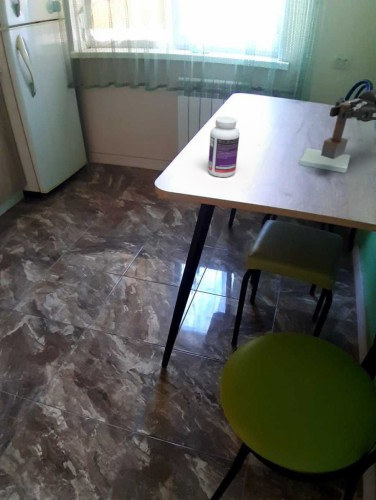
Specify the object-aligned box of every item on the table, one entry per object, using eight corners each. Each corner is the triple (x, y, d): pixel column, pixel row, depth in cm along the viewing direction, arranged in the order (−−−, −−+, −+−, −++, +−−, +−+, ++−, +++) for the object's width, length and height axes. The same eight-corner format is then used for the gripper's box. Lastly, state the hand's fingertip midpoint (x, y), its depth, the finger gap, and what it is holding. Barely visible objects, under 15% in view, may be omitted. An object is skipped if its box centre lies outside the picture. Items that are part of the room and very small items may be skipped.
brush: (331, 150, 119) (344, 100, 110) (343, 154, 117) (358, 103, 108) (320, 155, 116) (333, 104, 107) (333, 159, 114) (347, 107, 105)
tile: (349, 159, 132) (350, 155, 131) (345, 173, 124) (347, 168, 123) (305, 152, 135) (306, 147, 134) (299, 165, 127) (300, 160, 126)
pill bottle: (240, 173, 121) (247, 119, 111) (224, 180, 116) (229, 126, 106) (218, 165, 124) (223, 113, 114) (202, 172, 120) (205, 119, 110)
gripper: (359, 83, 116) (319, 91, 109) (403, 95, 108) (363, 104, 101) (351, 112, 122) (312, 122, 114) (392, 125, 114) (353, 136, 106)
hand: (336, 113), depth 107 cm, fingers closed on brush, 2 cm apart
